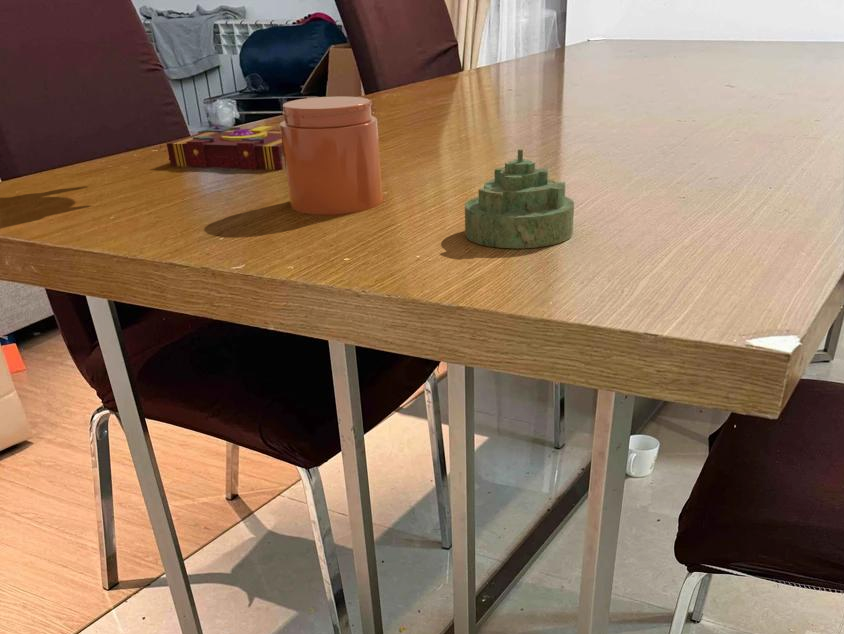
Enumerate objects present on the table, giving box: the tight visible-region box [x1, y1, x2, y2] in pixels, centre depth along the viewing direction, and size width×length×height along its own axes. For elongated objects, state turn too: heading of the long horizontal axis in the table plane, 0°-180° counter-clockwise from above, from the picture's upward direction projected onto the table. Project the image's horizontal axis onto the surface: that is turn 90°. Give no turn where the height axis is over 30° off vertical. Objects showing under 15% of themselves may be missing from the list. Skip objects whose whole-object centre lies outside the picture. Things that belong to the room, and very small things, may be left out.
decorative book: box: [166, 125, 286, 171], centre depth 102 cm, size 11×16×5 cm
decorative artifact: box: [464, 148, 575, 250], centre depth 76 cm, size 10×7×10 cm
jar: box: [279, 95, 384, 215], centre depth 80 cm, size 9×9×10 cm
